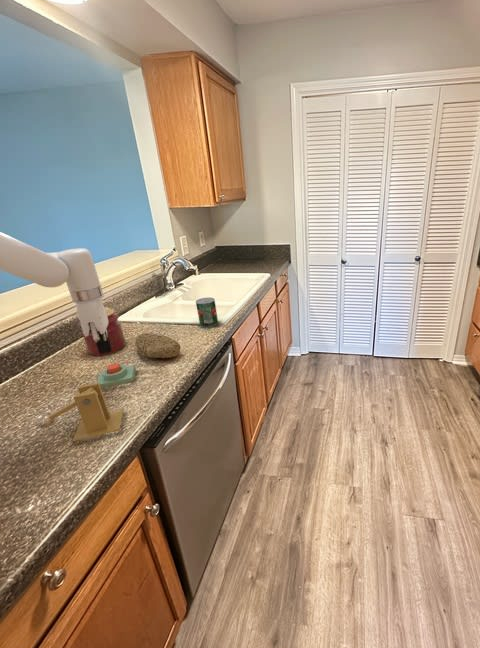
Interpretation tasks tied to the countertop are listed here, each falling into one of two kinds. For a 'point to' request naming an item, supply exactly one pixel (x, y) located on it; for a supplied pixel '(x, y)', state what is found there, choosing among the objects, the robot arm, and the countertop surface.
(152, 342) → the speckled river stone
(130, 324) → the countertop surface
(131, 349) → the countertop surface
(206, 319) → the canned tomato
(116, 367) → the button
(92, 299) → the robot arm
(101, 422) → the bracket
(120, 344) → the kitchen canister
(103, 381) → the switch block
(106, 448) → the countertop surface
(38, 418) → the tap lever
